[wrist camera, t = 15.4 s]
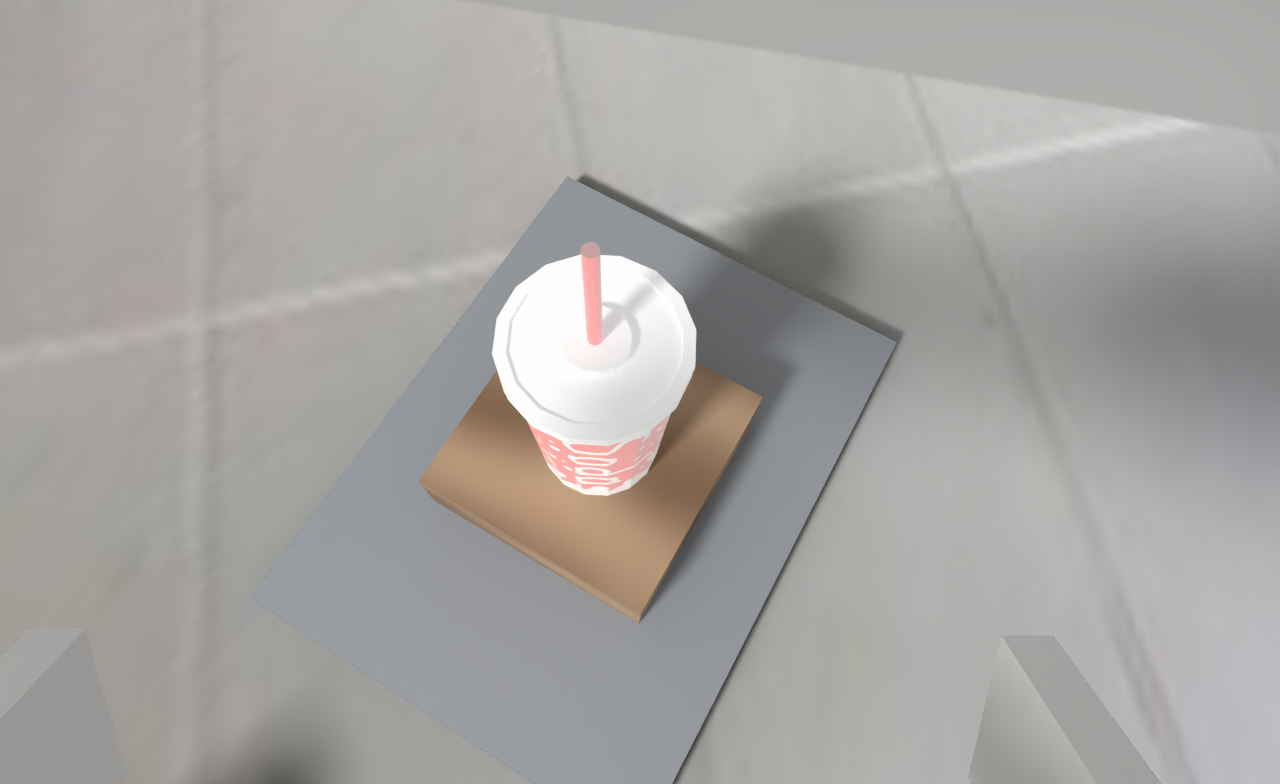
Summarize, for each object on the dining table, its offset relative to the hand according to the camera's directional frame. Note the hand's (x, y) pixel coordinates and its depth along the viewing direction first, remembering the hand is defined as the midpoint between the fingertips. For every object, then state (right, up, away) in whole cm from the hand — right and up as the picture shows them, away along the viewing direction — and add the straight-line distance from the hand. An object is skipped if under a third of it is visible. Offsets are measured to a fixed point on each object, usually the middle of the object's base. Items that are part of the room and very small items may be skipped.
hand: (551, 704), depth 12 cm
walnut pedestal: (-1, +1, +24) cm, 24 cm away
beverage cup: (0, +3, +21) cm, 21 cm away
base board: (-1, +1, +24) cm, 24 cm away
